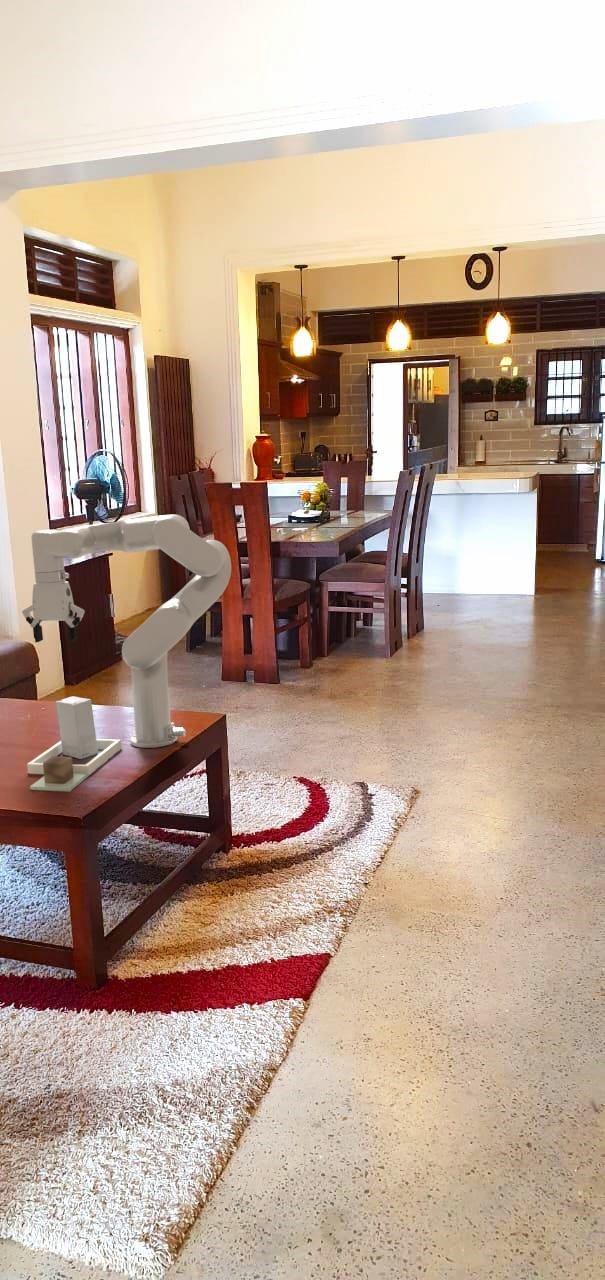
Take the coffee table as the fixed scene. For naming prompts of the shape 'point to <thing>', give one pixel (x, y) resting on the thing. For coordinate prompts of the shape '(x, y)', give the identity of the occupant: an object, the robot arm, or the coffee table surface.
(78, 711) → the skincare box
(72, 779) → the tile
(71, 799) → the coffee table surface
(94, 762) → the cream rectangular frame
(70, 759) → the walnut block
